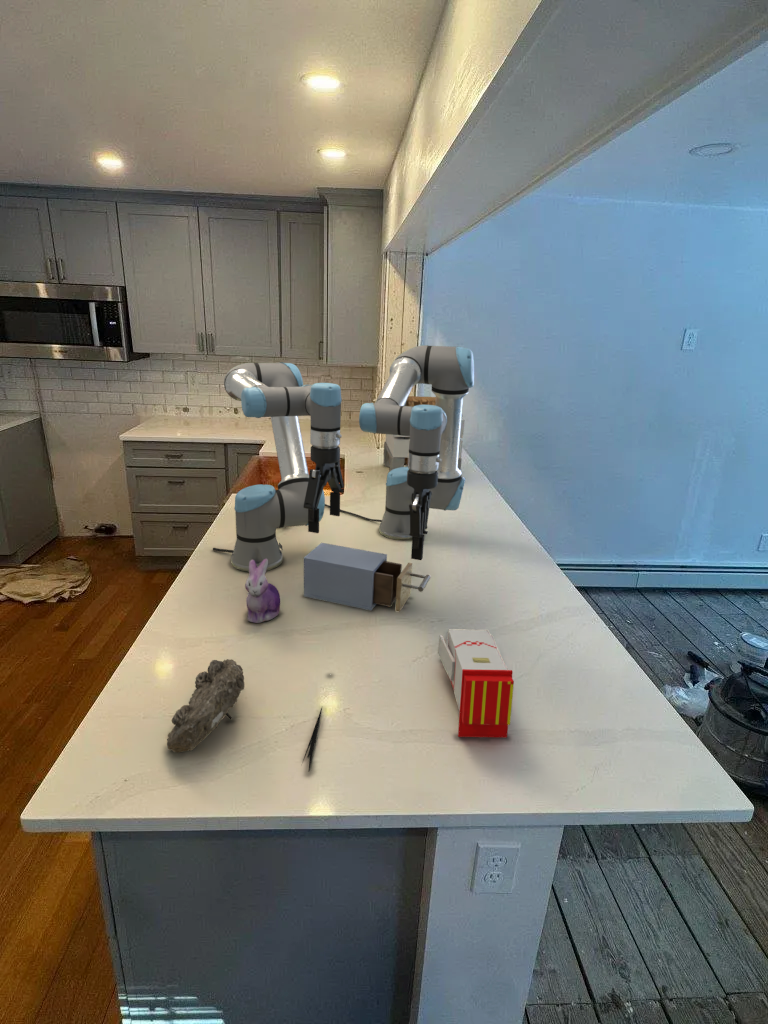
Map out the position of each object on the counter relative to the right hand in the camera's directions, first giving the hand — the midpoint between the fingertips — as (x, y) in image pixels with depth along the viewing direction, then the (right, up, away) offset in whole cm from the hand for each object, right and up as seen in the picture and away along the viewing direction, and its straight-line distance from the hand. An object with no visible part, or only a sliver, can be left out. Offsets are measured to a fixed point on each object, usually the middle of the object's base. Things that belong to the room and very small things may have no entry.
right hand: (416, 558), depth 146 cm
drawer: (-9, -11, +7) cm, 16 cm away
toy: (+9, -26, -27) cm, 39 cm away
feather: (-21, -28, -37) cm, 51 cm away
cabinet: (-19, -11, +11) cm, 24 cm away
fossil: (-41, -27, -38) cm, 62 cm away
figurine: (-39, -14, -2) cm, 42 cm away
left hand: (-24, +9, +6) cm, 27 cm away
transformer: (+9, +31, +129) cm, 133 cm away
